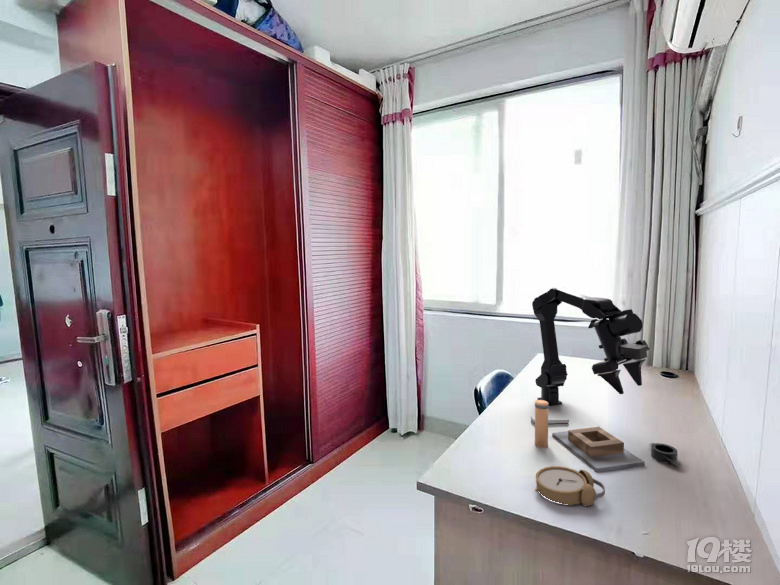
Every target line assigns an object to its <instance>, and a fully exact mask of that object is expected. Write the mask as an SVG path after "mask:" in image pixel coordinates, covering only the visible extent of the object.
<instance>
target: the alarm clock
mask: <svg viewBox="0 0 780 585" xmlns="http://www.w3.org/2000/svg"><path fill="white" fill-rule="evenodd" d="M535 483H536V488H535V489H534V491H535V492H536V493H538V491H539V492H540V493H541V494H542V495H543V496H545V497H546V498H548V499H550V500H552V501H555V502H559V503H562V504H568V505H567V506H573V505H572V504H577V505H580V504H582V505H583V506H585V505H586V506H585V507H590V505H591V506H592V505H593V504H594V503H595V502H596V501H597V500H598V499H600V498H602V497H604V496H605V495H606V487H605V485H604V484H603V483H602V482H601V481H599V480H597V479H595V478H593V477H592V475H591V474H590V472H589V471H587V470H585V469H579V470H578V471H577V470H576V469H572V468H570V467H566V466H561V465H560V466H559V465H558V466H557V465H556V466H555V465H552V466H546V467H542V468H541V469H539V470H538V471H537V472H536V473H535ZM594 484H595V485H597V486H598V487H600V488H601V489H602V491H601V492H599V493H597V492H596V489H595V488H594V487H595V485H594Z"/></svg>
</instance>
